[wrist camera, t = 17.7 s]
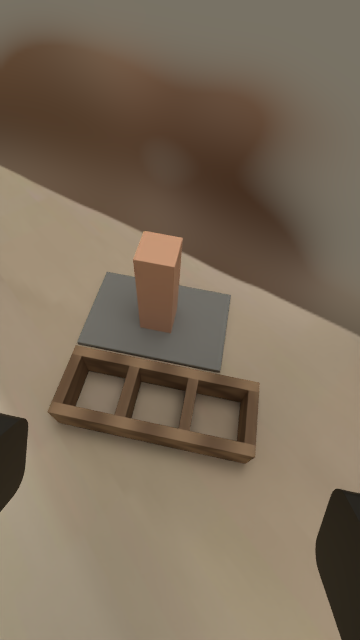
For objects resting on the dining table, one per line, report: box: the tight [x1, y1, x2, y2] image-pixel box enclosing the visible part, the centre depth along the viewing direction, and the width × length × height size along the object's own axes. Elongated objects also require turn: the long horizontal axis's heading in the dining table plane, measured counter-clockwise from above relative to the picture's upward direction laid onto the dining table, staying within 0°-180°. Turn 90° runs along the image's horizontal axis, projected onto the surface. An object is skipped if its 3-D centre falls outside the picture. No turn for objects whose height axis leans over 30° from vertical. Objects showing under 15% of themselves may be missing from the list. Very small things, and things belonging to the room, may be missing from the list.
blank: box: [133, 231, 183, 333], centre depth 41 cm, size 4×4×14 cm
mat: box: [77, 272, 231, 373], centre depth 47 cm, size 20×13×1 cm, turn 79°
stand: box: [48, 345, 260, 463], centre depth 38 cm, size 23×8×4 cm, turn 79°
